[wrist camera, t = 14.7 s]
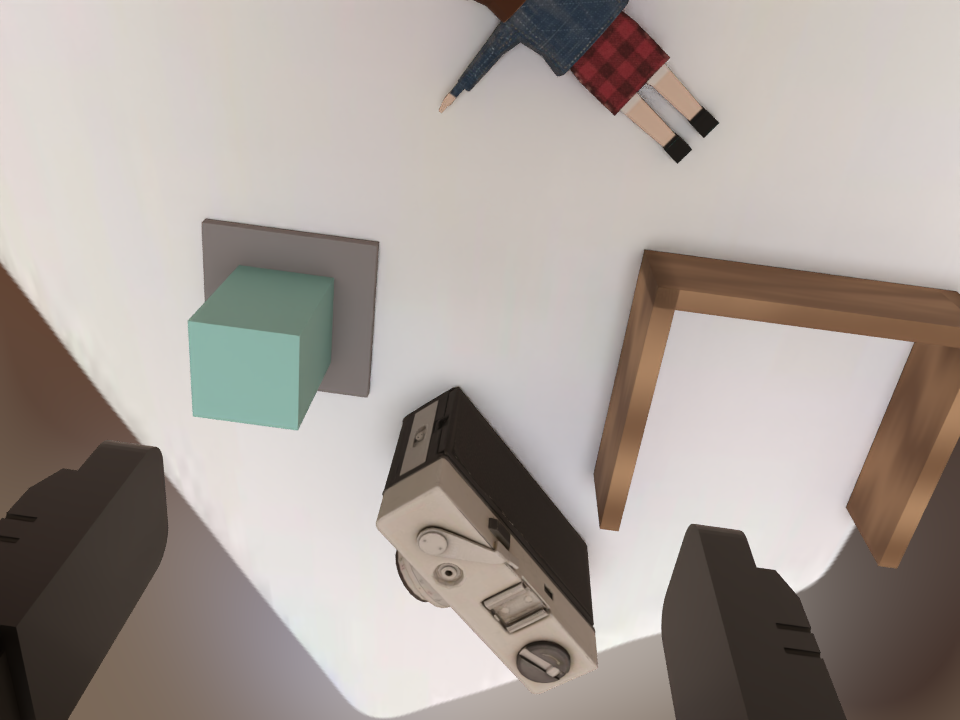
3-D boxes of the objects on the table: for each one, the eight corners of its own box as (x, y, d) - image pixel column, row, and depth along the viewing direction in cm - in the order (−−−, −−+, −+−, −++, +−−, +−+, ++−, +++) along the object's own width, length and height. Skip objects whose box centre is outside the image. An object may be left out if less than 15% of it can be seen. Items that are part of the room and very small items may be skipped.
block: (238, 264, 42) (187, 320, 36) (334, 277, 42) (299, 336, 36) (240, 349, 44) (193, 416, 38) (330, 362, 44) (297, 430, 38)
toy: (803, 16, 37) (568, -256, 32) (843, 31, 33) (581, -279, 28) (586, 231, 42) (355, 26, 37) (597, 268, 38) (340, 43, 33)
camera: (349, 447, 48) (306, 562, 39) (460, 379, 45) (442, 486, 36) (485, 597, 52) (475, 731, 44) (593, 545, 50) (605, 675, 41)
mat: (205, 218, 41) (201, 222, 41) (378, 242, 41) (376, 246, 41) (211, 371, 46) (208, 376, 45) (369, 392, 46) (367, 397, 45)
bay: (644, 249, 41) (657, 286, 36) (956, 291, 41) (1007, 333, 36) (593, 473, 47) (599, 528, 43) (863, 509, 47) (896, 568, 43)
